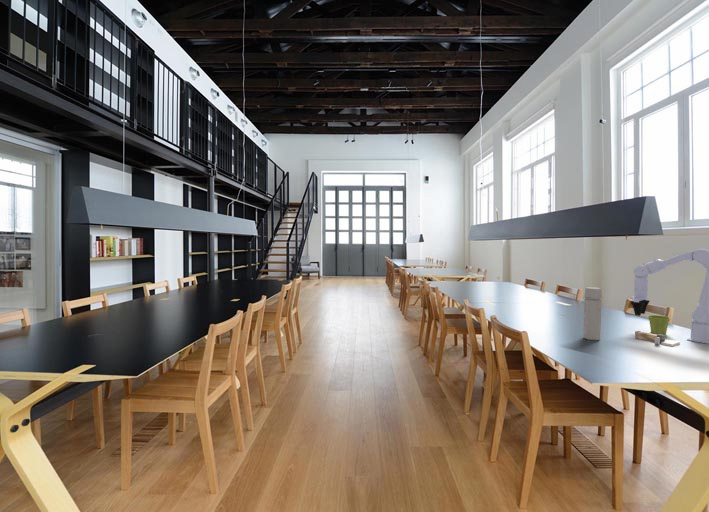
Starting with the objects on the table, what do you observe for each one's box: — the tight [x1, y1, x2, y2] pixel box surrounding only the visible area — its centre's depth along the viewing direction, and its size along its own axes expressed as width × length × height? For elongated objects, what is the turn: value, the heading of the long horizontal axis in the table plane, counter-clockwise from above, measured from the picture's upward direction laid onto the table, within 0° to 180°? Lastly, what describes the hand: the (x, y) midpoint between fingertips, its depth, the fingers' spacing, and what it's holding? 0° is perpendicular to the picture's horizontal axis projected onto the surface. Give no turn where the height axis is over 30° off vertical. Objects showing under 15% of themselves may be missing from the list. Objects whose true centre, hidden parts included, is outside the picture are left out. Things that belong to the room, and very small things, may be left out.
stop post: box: [654, 337, 661, 346], centre depth 180 cm, size 2×2×4 cm
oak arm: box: [634, 330, 666, 344], centre depth 188 cm, size 12×3×4 cm, turn 32°
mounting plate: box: [661, 339, 681, 347], centre depth 181 cm, size 4×8×1 cm, turn 122°
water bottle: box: [582, 286, 603, 341], centre depth 191 cm, size 9×8×25 cm
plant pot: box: [647, 314, 671, 336], centre depth 201 cm, size 9×9×9 cm
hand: (639, 314), depth 204 cm, fingers open, 7 cm apart
